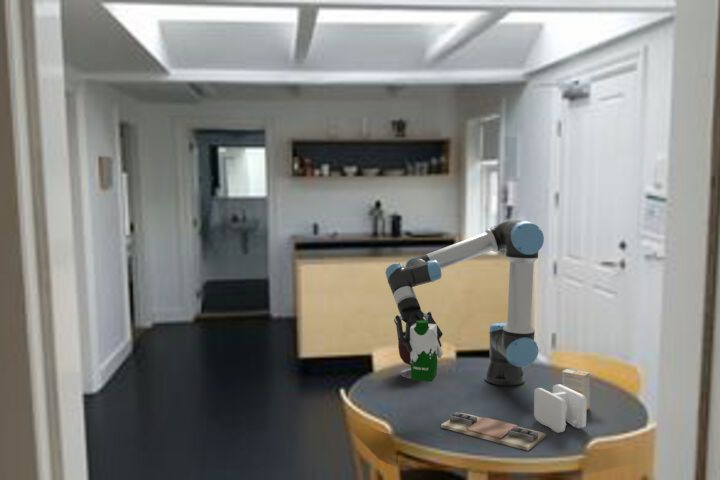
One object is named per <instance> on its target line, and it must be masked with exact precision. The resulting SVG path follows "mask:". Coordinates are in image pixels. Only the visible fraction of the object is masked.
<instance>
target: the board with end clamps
mask: <svg viewBox="0 0 720 480" xmlns="http://www.w3.org/2000/svg"><path fill="white" fill-rule="evenodd" d="M440 428H442V429H446V430H450V431H453V432H456V433H461V434H464V435H468V436H472V437H475V438H479V439H483V440H486V441H491V442H494V443H497V444H501V445H505V446H509V447H512V448H515V449H521V450H523V451H528V452H529V451H530V450H531V449H532V448H533V447H535V446H536V445H537V444H538V443H539V442H541V441H542V440H543V439H545V437H546V433H545V432H541V431H538V430H533V429H529V428H524V427H521V426H519V425H518V424H513V423H510V422H505V421H502V420H497V419H493V418H490V417H489V418H488V417H486V416H484V417H481V416H477V415H472V414H469V413H464V412H457V411H455V412H454V413H453V414H450V415H449V419H448V420H447V421H445V422H443V423H441V426H440Z"/></svg>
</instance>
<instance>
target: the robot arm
mask: <svg viewBox="0 0 720 480" xmlns="http://www.w3.org/2000/svg"><path fill="white" fill-rule="evenodd" d="M544 241H545V237H544V233H543V231H542V229H541V227H539V226H538V224H535V223H534V222H531V221H529V220H521V219H520V220H519V219H509V220H506V221H503V222H501V223H498V224H496V225H494V226H491V227H489V228H486V229H485V232H483V233H480V234H476V235H475V236H472V237H469V238H466V239H464V240H461V241H458V242H456V243H453V244H451V245H447V246H445V247H442V248H439V249H437V250H435V251H432V252H429V253H426V254H423V255H421V256H417V257H416V256H415V257H414V256H413V257H411V258H409V259H408V260H407V261H406V263H405V265H404V264H403V263H401V262H399V263H397V262H395V263H392V264H389V266H388V267H387V268H386V270H385V272H384V273H385V276H386V280H387V284H388V286H389V288H390V290H391V293H392V296H393V298H394V301H395V304H396V306H397V309H398V312H399V315H397V314H396V316H395V317H394V320H393V322H394V323H395V324H394V325H396V326H395V327H396V333H397V340H398V342H399V343H400V344H401V343H403V345H404V346H406V348H407V351H408V352H410V353H411V356H412V358H413V361H414V362H416V361H417V359H418V355H417V353H416V350H415V348H414V346H413V344H412V342H411V341H410V342H409V339H410V328H411V327H412V326H413V324H415V323H416V321H418V320H427V321H428V324H437V323H436V321H435V319H434V318H433V315H432V312H431V311H428V312H427V313H426V312H423V311H422V310H421V306H420V303H419V301H418V299H417V296H416V295H417V294H416V293H415V291H414V288H415V287H416V286H421V285H425V284H428V283H432V282H433V283H434V282H436V281H439V280H440V279H441V278H442V270H443V269H446V268H449V267H451V266H455V265H457V264H459V263H462V262H465V261H468V260H470V259H474V258H476V257H479V256H481V255H484V254H486V253H489V252H494V253H497V252H499V251H500V252H501V251H503V250H505V257H506V258H507V259H508V261H509V271H508V272H509V273H508V274H509V276H508V277H509V279H508V296H507V297H508V298H507V299H508V300H507V321H506V322H497V323H492V324H491V325H490V326H489V331H488V334H489V361H488V365H487V368H486V371H485V375H484V376H485V377H484V380H485V381H486V382H487V383H489V384H493V385H496V386H505V387H506V386H507V387H508V386H509V387H512V386H518V385H519V386H520V385H521V384H523V383H525V373H524V372H523V368H525V367H528V366H530V365H532V364H533V363H534V362H535V361H536V360H537V358H538V356H539V347H538V344H537V342H536V341H535V329H534V327H532V326H531V324H532V301H533V284H534V283H533V281H534V277H533V276H534V265H535V264H534V262H536V260H537V259H539V251H540V250H541V249H542V248H543V246H544V243H545V242H544ZM402 321H403V322H404V323H405V338H404V335H403V322H402ZM443 335H444V333H443V332H442V331H441V329H440V327H439V326H438V324H437V359H441V358H442V357H443V355H444V353H443V349H442V346H443V345H442V343H441V340H440V339H441V338H442V336H443ZM398 342H397V343H398Z"/></svg>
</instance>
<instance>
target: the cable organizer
mask: <svg viewBox="0 0 720 480" xmlns="http://www.w3.org/2000/svg"><path fill="white" fill-rule="evenodd" d="M533 394H534V395H533V416H534V419H535V420H536V422H539V424H541V425H543V426H545V427H548V428H550V429H551V431H553V432H555V433H557V434H559V433H562V432H563V433H564V432H565V430H566V426H567V425H568V424H570V425H571V426H572V427H574V428H576V429H578V430H579V429H583V428H585V427H586V426H587V411H586V404H587V401H586V398H585V396H584V395H582V394H581V393H578V392H576V391H574V390H572V389H570V388H567V387H565V386H563V385H562V383H561V384H560V383H559V384H558V383H557V384H554V385H553V386H552V392H551V391H548V390H547V389H545V388H543V387H536V388H535V389H534V391H533ZM567 423H568V424H567Z"/></svg>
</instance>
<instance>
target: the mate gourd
mask: <svg viewBox="0 0 720 480" xmlns="http://www.w3.org/2000/svg"><path fill="white" fill-rule="evenodd" d="M405 331H406V330H405ZM405 331H403V335H404V338H405ZM409 342H410V339H409ZM397 344H398V347H397V348H398V352H399V353H398V354H399V358H400V359H401V360H402V362H403V363H405V364H407V365H409V366H411V361H410V352H408V351H407V348H406V346H404V345H403V343H401V344H400V343H399V342H397ZM400 375H401V376H402V377H403V378H405V377H406V379H411V378H412V376H411V367H410V368H405V369H403V370H401V371H400Z"/></svg>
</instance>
